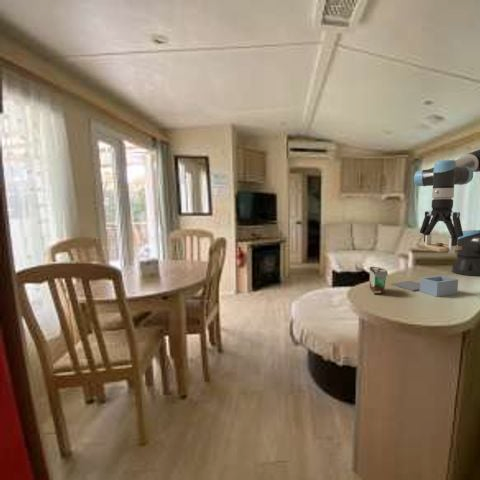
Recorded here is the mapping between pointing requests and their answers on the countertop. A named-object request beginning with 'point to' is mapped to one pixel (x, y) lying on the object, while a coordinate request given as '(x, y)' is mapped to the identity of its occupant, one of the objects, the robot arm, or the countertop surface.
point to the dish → (438, 285)
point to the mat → (408, 285)
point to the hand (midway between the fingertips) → (439, 251)
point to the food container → (377, 280)
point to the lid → (438, 247)
